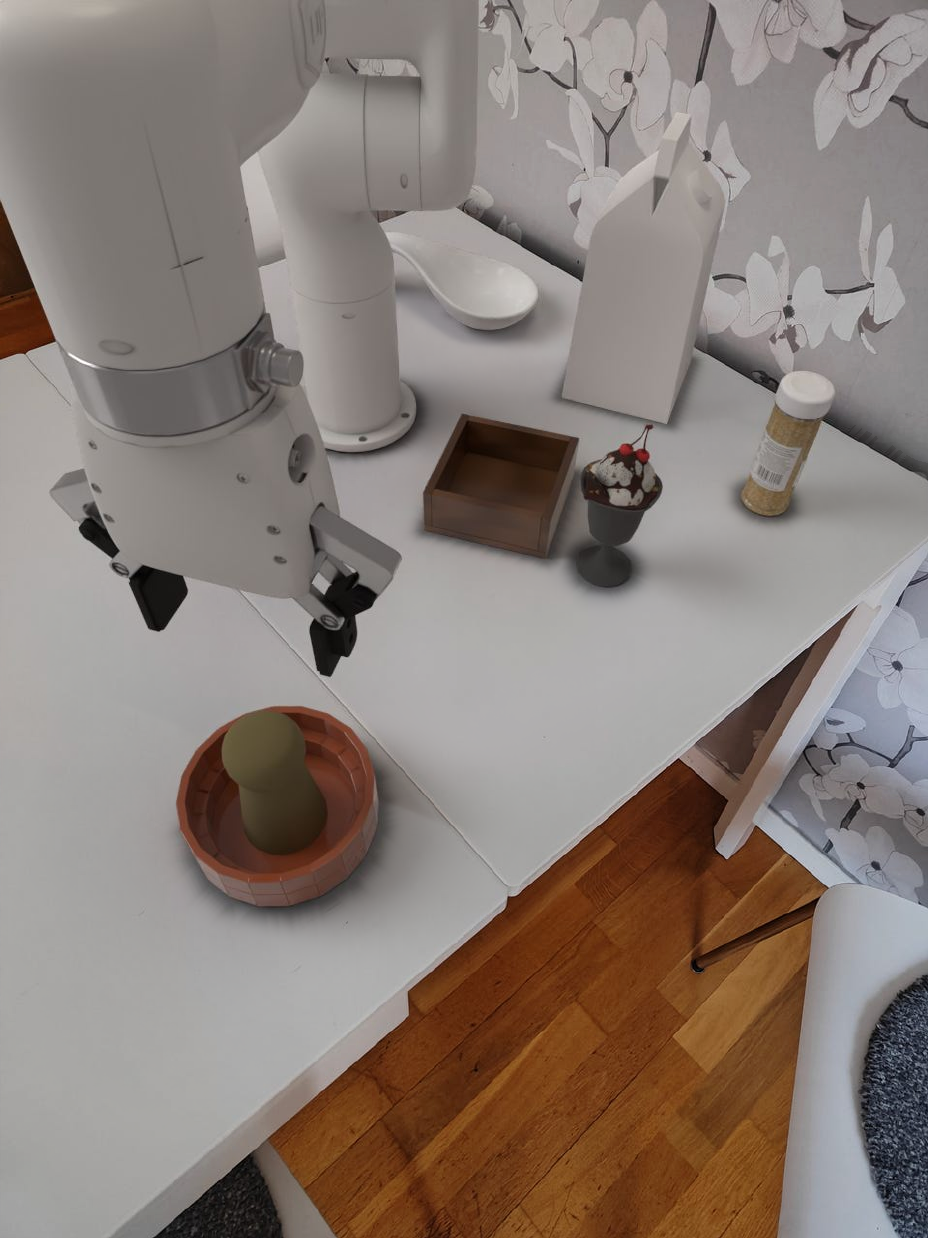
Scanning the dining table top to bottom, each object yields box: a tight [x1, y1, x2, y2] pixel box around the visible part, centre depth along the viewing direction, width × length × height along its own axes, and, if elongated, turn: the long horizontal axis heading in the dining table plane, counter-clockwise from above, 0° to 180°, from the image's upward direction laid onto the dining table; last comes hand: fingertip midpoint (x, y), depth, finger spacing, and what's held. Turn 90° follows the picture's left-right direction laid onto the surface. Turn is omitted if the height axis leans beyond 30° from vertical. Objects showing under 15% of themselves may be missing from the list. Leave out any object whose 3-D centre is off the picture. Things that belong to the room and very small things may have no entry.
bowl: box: [175, 705, 379, 907], centre depth 61 cm, size 13×13×4 cm
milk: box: [561, 111, 726, 425], centre depth 85 cm, size 12×12×26 cm
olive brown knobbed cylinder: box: [222, 710, 328, 855], centre depth 58 cm, size 6×6×11 cm
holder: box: [422, 413, 580, 559], centre depth 81 cm, size 12×12×5 cm
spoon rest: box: [384, 231, 540, 331], centre depth 101 cm, size 24×12×7 cm, turn 70°
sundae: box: [575, 424, 664, 587], centre depth 72 cm, size 7×7×15 cm
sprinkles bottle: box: [741, 370, 836, 517], centre depth 78 cm, size 5×5×14 cm
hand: (251, 632), depth 46 cm, fingers open, 9 cm apart
